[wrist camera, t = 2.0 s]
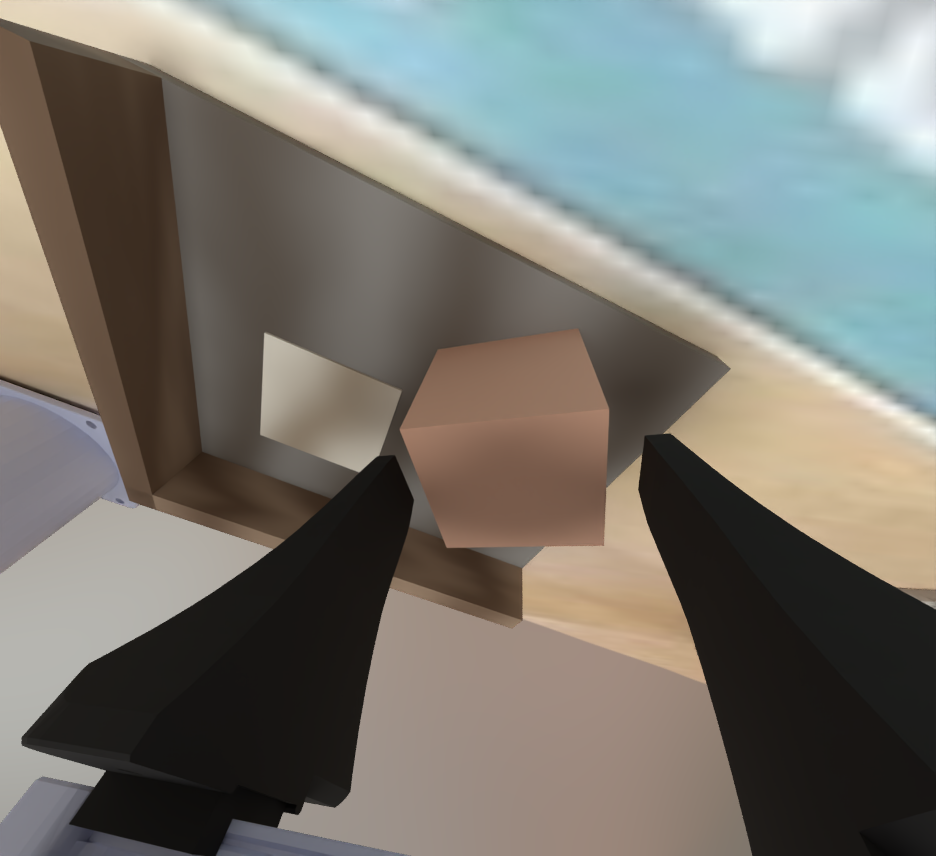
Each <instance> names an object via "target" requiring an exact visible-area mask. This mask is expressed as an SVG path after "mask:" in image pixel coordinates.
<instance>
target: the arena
mask: <svg viewBox="0 0 936 856" xmlns="http://www.w3.org/2000/svg"><path fill="white" fill-rule="evenodd" d="M0 126H1V128H2V131H3V134H4V137H5V140H6V143H7V146H8V149H9V152H10V155H11V158H12V161H13V163H14V166H15V169H16V172H17V175H18V178H19V181H20V184H21V187H22V190H23V193H24V195H25V198H26V201H27V204H28V207H29V210H30V213H31V216H32V219H33V222H34V225H35V227H36V230H37V233H38V236H39V239H40V242H41V245H42V248H43V251H44V254H45V257H46V259H47V262H48V265H49V268H50V271H51V274H52V277H53V280H54V283H55V286H56V289H57V291H58V294H59V297H60V300H61V303H62V306H63V309H64V312H65V315H66V318H67V321H68V324H69V326H70V329H71V332H72V335H73V338H74V341H75V344H76V347H77V350H78V353H79V356H80V358H81V361H82V364H83V367H84V370H85V373H86V376H87V379H88V382H89V385H90V388H91V390H92V393H93V396H94V399H95V402H96V405H97V408H98V411H99V414H100V417H101V420H102V422H103V425H104V428H105V431H106V434H107V437H108V440H109V443H110V446H111V449H112V452H113V454H114V457H115V460H116V463H117V466H118V469H119V472H120V475H121V478H122V481H123V484H124V487H125V489H126V492H127V495H128V498H129V501H131V502H134V503H137V504H140V505H143V506H146V507H149V508H152V509H155V510H158V511H161V512H164V513H167V514H170V515H173V516H176V517H179V518H182V519H185V520H188V521H191V522H194V523H197V524H200V525H203V526H206V527H209V528H212V529H215V530H218V531H221V532H224V533H227V534H230V535H233V536H236V537H239V538H242V539H245V540H248V541H251V542H254V543H257V544H260V545H263V546H266V547H269V548H272V549H274V548H276V547H277V546H278V545H280V544H281V543H282V542H283V541H285V540H286V539H287V538H288V537H290V536H291V535H292V534H293V533H294V532H296V531H297V530H298V529H299V528H300V527H301V526H302V525H303V524H305V523H306V522H307V521H308V520H309V519H310V518H311V517H312V516H314V515H315V514H316V513H317V512H318V511H319V510H320V509H322V508H323V507H324V506H325V505H326V504H327V503H328V502H329V501H330V500H331V499H332V498H333V497H334V496H335V495H336V494H338V493H339V492H340V491H341V490H342V489H343V488H344V487H345V486H346V485H347V484H348V483H349V482H350V481H351V480H352V479H353V478H354V477H355V476H356V475H357V474H358V473H359V472H360V471H362V470H363V469H364V468H365V467H366V466H367V465H368V464H369V463H370V462H371V461H372V460H374V459H375V458H376V457H377V456H387V455H395V456H396V459H397V461H398V463H399V465H400V468H401V470H402V472H403V475H404V477H405V479H406V482H407V484H408V486H409V489H410V491H411V493H412V496H413V498H414V503H413V509H412V515H411V520H410V525H409V530H408V533H407V536H406V539H405V542H404V546H403V549H402V552H401V555H400V558H399V561H398V564H397V567H396V570H395V573H394V576H393V579H392V582H391V585H390V588H392V589H395V590H398V591H401V592H404V593H407V594H410V595H413V596H416V597H419V598H422V599H425V600H428V601H431V602H434V603H437V604H440V605H443V606H446V607H449V608H452V609H455V610H458V611H461V612H464V613H467V614H470V615H473V616H476V617H479V618H482V619H485V620H488V621H491V622H494V623H497V624H500V625H503V626H506V627H509V628H513V627H515V626H516V625H517V624H518V623H520V622H521V621H522V568H523V567H524V566H525V565H526V564H527V563H528V562H529V561H530V560H531V559H532V558H533V557H534V556H536V555H537V554H538V553H539V552H540V551H541V550H542V549H543V548H544V547H545V546H539V547H472V548H447V547H446V545H445V542H444V540H443V537H442V535H441V532H440V530H439V527H438V525H437V522H436V520H435V517H434V515H433V512H432V510H431V507H430V505H429V502H428V500H427V497H426V495H425V492H424V490H423V487H422V485H421V482H420V480H419V477H418V475H417V472H416V470H415V467H414V465H413V462H412V460H411V457H410V455H409V452H408V449H407V447H406V444H405V442H404V439H403V437H402V434H401V432H400V427H401V425H402V423H403V421H404V419H405V417H406V415H407V413H408V411H409V409H410V407H411V405H412V402H413V400H414V398H415V396H416V394H417V392H418V390H419V388H420V386H421V384H422V382H423V380H424V377H425V375H426V373H427V371H428V369H429V367H430V365H431V363H432V361H433V359H434V357H435V354H436V352H437V350H438V349H444V348H451V347H458V346H464V345H471V344H477V343H484V342H491V341H497V340H504V339H511V338H517V337H524V336H531V335H537V334H544V333H550V332H557V331H564V330H570V329H577V328H578V329H579V332H580V334H581V337H582V340H583V342H584V345H585V347H586V350H587V352H588V355H589V358H590V360H591V363H592V365H593V368H594V371H595V373H596V376H597V378H598V381H599V383H600V386H601V389H602V391H603V394H604V396H605V399H606V402H607V404H608V407H609V429H608V454H607V479H606V488H607V487H608V486H609V485H610V484H611V483H612V482H613V481H614V480H615V479H616V478H617V477H618V476H619V475H620V474H621V473H622V472H623V471H624V470H625V469H626V468H628V467H629V466H630V465H631V464H632V463H633V462H634V461H635V460H636V459H637V458H638V457H639V456H640V455H641V454H642V453H643V446H644V437H645V435H657V434H663V433H664V432H665V431H666V430H667V429H668V428H669V427H670V426H671V425H672V424H674V423H675V422H676V421H677V420H678V419H679V418H680V417H681V416H682V415H683V414H684V413H685V412H686V411H687V410H688V409H689V408H690V407H691V406H692V405H693V404H694V403H695V402H697V401H698V400H699V399H700V398H701V397H702V396H703V395H704V394H705V393H706V392H707V391H708V390H709V389H710V388H711V387H712V386H713V385H714V384H715V383H716V382H717V381H718V380H719V379H721V378H722V377H723V376H724V375H725V374H726V373H727V372H728V371H729V370H730V368H729V367H728V366H727V365H726V364H725V363H724V362H722V361H721V360H720V359H719V358H718V357H717V356H715V355H713V354H711V353H709V352H707V351H705V350H703V349H701V348H699V347H697V346H695V345H694V344H692V343H690V342H688V341H686V340H684V339H682V338H680V337H678V336H676V335H674V334H672V333H670V332H668V331H666V330H664V329H662V328H660V327H659V326H657V325H655V324H653V323H651V322H649V321H647V320H645V319H643V318H641V317H639V316H637V315H635V314H633V313H631V312H629V311H627V310H625V309H623V308H622V307H620V306H618V305H616V304H614V303H612V302H610V301H608V300H606V299H604V298H602V297H600V296H598V295H596V294H594V293H592V292H590V291H588V290H587V289H585V288H583V287H581V286H579V285H577V284H575V283H573V282H571V281H569V280H567V279H565V278H563V277H561V276H559V275H557V274H555V273H553V272H552V271H550V270H548V269H546V268H544V267H542V266H540V265H538V264H536V263H534V262H532V261H530V260H528V259H526V258H524V257H522V256H520V255H518V254H517V253H515V252H513V251H511V250H509V249H507V248H505V247H503V246H501V245H499V244H497V243H495V242H493V241H491V240H489V239H487V238H485V237H483V236H481V235H480V234H478V233H476V232H474V231H472V230H470V229H468V228H466V227H464V226H462V225H460V224H458V223H456V222H454V221H452V220H450V219H448V218H446V217H445V216H443V215H441V214H439V213H437V212H435V211H433V210H431V209H429V208H427V207H425V206H423V205H421V204H419V203H417V202H415V201H413V200H411V199H410V198H408V197H406V196H404V195H402V194H400V193H398V192H396V191H394V190H392V189H390V188H388V187H386V186H384V185H382V184H380V183H378V182H376V181H375V180H373V179H371V178H369V177H367V176H365V175H363V174H361V173H359V172H357V171H355V170H353V169H351V168H349V167H347V166H345V165H343V164H341V163H339V162H338V161H336V160H334V159H332V158H330V157H328V156H326V155H324V154H322V153H320V152H318V151H316V150H314V149H312V148H310V147H308V146H306V145H304V144H303V143H301V142H299V141H297V140H295V139H293V138H291V137H289V136H287V135H285V134H283V133H281V132H279V131H277V130H275V129H273V128H271V127H269V126H268V125H266V124H264V123H262V122H260V121H258V120H256V119H254V118H252V117H250V116H248V115H246V114H244V113H242V112H240V111H238V110H236V109H234V108H233V107H231V106H229V105H227V104H225V103H223V102H221V101H219V100H217V99H215V98H213V97H211V96H209V95H207V94H205V93H203V92H201V91H199V90H197V89H196V88H194V87H192V86H190V85H188V84H186V83H184V82H182V81H180V80H178V79H176V78H174V77H172V76H170V75H168V74H166V73H164V72H162V71H161V70H159V69H157V68H155V67H153V66H151V65H149V64H147V63H143V62H140V61H137V60H134V59H130V58H127V57H124V56H121V55H117V54H114V53H111V52H108V51H104V50H101V49H98V48H95V47H91V46H88V45H85V44H82V43H78V42H75V41H72V40H69V39H65V38H62V37H59V36H56V35H52V34H49V33H46V32H43V31H39V30H36V29H33V28H30V27H26V26H23V25H20V24H17V23H13V22H10V21H7V20H4V19H0Z"/></svg>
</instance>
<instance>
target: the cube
mask: <svg viewBox="0 0 936 856" xmlns="http://www.w3.org/2000/svg"><path fill="white" fill-rule="evenodd" d="M608 429H609V407H608V404H607V402H606V399H605V396H604V394H603V391H602V389H601V386H600V383H599V381H598V378H597V376H596V373H595V371H594V368H593V365H592V363H591V360H590V358H589V355H588V352H587V350H586V347H585V345H584V342H583V340H582V337H581V334H580V332H579V329H578V328H577V329H570V330H564V331H557V332H550V333H544V334H537V335H531V336H524V337H517V338H511V339H504V340H497V341H491V342H484V343H477V344H471V345H464V346H458V347H451V348H444V349H438V350H437V352H436V354H435V357H434V359H433V361H432V363H431V365H430V367H429V369H428V371H427V373H426V375H425V377H424V380H423V382H422V384H421V386H420V388H419V390H418V392H417V394H416V396H415V398H414V400H413V402H412V405H411V407H410V409H409V411H408V413H407V415H406V417H405V419H404V421H403V423H402V425H401V427H400V432H401V434H402V437H403V439H404V442H405V444H406V447H407V449H408V452H409V455H410V457H411V460H412V462H413V465H414V467H415V470H416V472H417V475H418V477H419V480H420V482H421V485H422V487H423V490H424V492H425V495H426V497H427V500H428V502H429V505H430V507H431V510H432V512H433V515H434V517H435V520H436V522H437V525H438V527H439V530H440V532H441V535H442V537H443V540H444V542H445V545H446V547H447V548H472V547H539V546H604V528H605V503H606V479H607V454H608Z"/></svg>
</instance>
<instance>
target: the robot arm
mask: <svg viewBox="0 0 936 856" xmlns="http://www.w3.org/2000/svg"><path fill="white" fill-rule="evenodd" d="M638 490H639V494H640V498H641V501H642V505H643V509H644V512H645V516H646V520H647V523H648V526H649V528H650V531H651V533H652V536H653V538H654V540H655V543H656V545H657V548H658V550H659V553H660V555H661V557H662V560H663V562H664V565H665V567H666V569H667V572H668V574H669V576H670V579H671V581H672V584H673V586H674V588H675V591H676V593H677V596H678V598H679V600H680V603H681V605H682V608H683V611H684V613H685V616H686V619H687V621H688V624H689V627H690V630H691V634H692V637H693V640H694V643H695V647H696V650H697V653H698V656H699V660H700V663H701V666H702V669H703V673H704V676H705V680H706V683H707V686H708V690H709V693H710V697H711V700H712V703H713V707H714V710H715V713H716V717H717V721H718V724H719V728H720V731H721V735H722V739H723V743H724V746H725V750H726V753H727V757H728V761H729V765H730V768H731V772H732V775H733V780H734V784H735V788H736V792H737V796H738V799H739V803H740V807H741V811H742V815H743V819H744V823H745V826H746V831H747V835H748V839H749V843H750V847H751V851H752V856H936V609H934V608H932V607H931V606H929V605H927V604H925V603H923V602H921V601H920V600H918V599H916V598H914V597H912V596H910V595H909V594H907V593H905V592H903V591H901V590H899V589H898V588H896V587H894V586H892V585H890V584H888V583H887V582H885V581H883V580H881V579H879V578H878V577H876V576H874V575H872V574H871V573H869V572H867V571H865V570H864V569H862V568H860V567H858V566H857V565H855V564H853V563H851V562H850V561H848V560H847V559H845V558H843V557H842V556H840V555H838V554H837V553H835V552H833V551H832V550H830V549H829V548H827V547H825V546H824V545H822V544H820V543H819V542H817V541H815V540H814V539H812V538H810V537H809V536H807V535H806V534H804V533H803V532H801V531H800V530H798V529H796V528H795V527H793V526H792V525H790V524H789V523H787V522H786V521H785V520H783V519H782V518H780V517H779V516H777V515H776V514H774V513H773V512H771V511H770V510H768V509H767V508H766V507H764V506H763V505H761V504H760V503H758V502H757V501H756V500H754V499H753V498H751V497H750V496H749V495H747V494H746V493H745V492H743V491H742V490H741V489H739V488H738V487H737V486H735V485H734V484H733V483H731V482H730V481H729V480H727V479H726V478H725V477H723V476H722V475H721V474H720V473H718V472H717V471H716V470H715V469H713V468H712V467H711V466H710V465H708V464H707V463H706V462H705V461H703V460H702V459H701V458H700V457H698V456H697V455H696V454H695V453H694V452H692V451H691V450H690V449H689V448H687V447H686V446H685V445H684V444H683V443H681V442H680V441H679V440H678V439H676V438H675V437H674V436H673V435H671V434H657V435H645V437H644V446H643V454H642V463H641V471H640V480H639V488H638ZM99 498H102V499H105V500H108V501H111V502H114V503H117V504H120V505H123V506H126V507H129V508H136V507H137V506H138V505H139V504H137V503H134V502H131V501H129V498H128V495H127V492H126V489H125V487H124V484H123V481H122V478H121V475H120V472H119V469H118V466H117V463H116V460H115V457H114V454H113V452H112V449H111V446H110V443H109V440H108V437H107V434H106V431H105V428H104V425H103V422H102V420H101V417H100V416H99V415H97V414H94V413H91V412H88V411H86V410H83V409H80V408H77V407H75V406H72V405H69V404H66V403H64V402H61V401H58V400H55V399H53V398H50V397H47V396H44V395H42V394H39V393H36V392H33V391H31V390H28V389H25V388H22V387H20V386H17V385H14V384H11V383H9V382H6V381H3V380H0V574H1V573H2V572H4V571H5V570H6V569H8V568H9V567H10V566H12V565H13V564H14V563H15V562H17V561H18V560H19V559H21V558H22V557H23V556H25V555H26V554H27V553H28V552H30V551H31V550H33V549H34V548H35V547H36V546H38V545H39V544H40V543H41V542H43V541H44V540H46V539H47V538H48V537H50V536H51V535H52V534H53V533H55V532H56V531H57V530H59V529H60V528H61V527H63V526H64V525H65V524H66V523H68V522H69V521H70V520H72V519H73V518H74V517H76V516H77V515H78V514H79V513H81V512H82V511H84V510H85V509H86V508H88V507H89V506H90V505H92V504H93V503H94V502H96V501H97V500H98V499H99ZM413 503H414V498H413V496H412V493H411V491H410V489H409V486H408V484H407V482H406V479H405V477H404V475H403V472H402V470H401V468H400V465H399V463H398V461H397V459H396V456H395V455H387V456H377V457H376V458H375V459H374V460H372V461H371V462H370V463H369V464H368V465H367V466H366V467H365V468H364V469H363V470H362V471H360V472H359V473H358V474H357V475H356V476H355V477H354V478H353V479H352V480H351V481H350V482H349V483H348V484H347V485H346V486H345V487H344V488H343V489H342V490H341V491H340V492H339V493H338V494H336V495H335V496H334V497H333V498H332V499H331V500H330V501H329V502H328V503H327V504H326V505H325V506H324V507H323V508H322V509H320V510H319V511H318V512H317V513H316V514H315V515H314V516H312V517H311V518H310V519H309V520H308V521H307V522H306V523H305V524H303V525H302V526H301V527H300V528H299V529H298V530H297V531H296V532H294V533H293V534H292V535H291V536H290V537H288V538H287V539H286V540H285V541H283V542H282V543H281V544H280V545H278V546H277V547H276V548H274V549H273V550H272V551H271V552H269V553H268V554H267V555H266V556H264V557H263V558H261V559H260V560H259V561H258V562H256V563H255V564H253V565H252V566H251V567H249V568H248V569H246V570H245V571H243V572H242V573H241V574H239V575H237V576H236V577H235V578H233V579H232V580H230V581H229V582H227V583H226V584H224V585H223V586H222V587H220V588H219V589H217V590H216V591H214V592H213V593H211V594H210V595H208V596H206V597H205V598H203V599H202V600H200V601H198V602H197V603H195V604H194V605H193V606H191V607H189V608H187V609H186V610H184V611H182V612H181V613H179V614H177V615H176V616H174V617H172V618H171V619H169V620H167V621H166V622H164V623H162V624H160V625H159V626H157V627H155V628H154V629H152V630H150V631H148V632H146V633H145V634H143V635H141V636H139V637H137V638H135V639H134V640H132V641H130V642H128V643H126V644H125V645H123V646H121V647H119V648H117V649H115V650H114V651H112V652H110V653H108V654H106V655H104V656H103V657H101V658H99V659H97V660H95V661H93V662H91V663H89V664H88V665H87V666H86V667H85V668H84V669H83V670H82V671H81V672H80V673H79V674H78V675H77V676H76V677H75V678H74V679H73V681H72V682H71V683H70V684H69V685H68V686H67V687H66V689H65V690H64V691H63V692H62V693H61V694H60V695H59V696H58V697H57V699H56V700H55V701H54V702H53V703H52V704H51V705H50V707H48V709H47V710H46V711H45V712H44V713H43V714H42V715H41V716H40V717H39V719H38V720H37V721H36V722H35V723H34V724H33V725H32V726H31V728H30V729H29V730H28V731H27V732H26V733H25V734H24V735H23V736H22V746H25V747H28V748H30V749H33V750H36V751H39V752H43V753H46V754H49V755H53V756H56V757H60V758H63V759H67V760H71V761H74V762H78V763H81V764H85V765H88V766H92V767H96V768H100V769H103V770H106V772H105V773H104V775H103V776H102V778H101V779H100V781H99V782H98V783H97V785H96V786H95V787H91V786H86V785H82V784H77V783H72V782H67V781H63V780H57V779H53V778H48V777H41V778H39V779H37V780H36V781H35V782H34V783H33V784H32V785H31V786H30V788H29V789H28V790H27V792H26V793H25V794H24V795H23V796H22V798H21V799H20V800H19V801H18V803H17V804H16V805H15V806H14V808H13V809H12V810H11V811H10V812H9V814H8V815H7V816H6V817H5V819H4V820H3V821H2V822H1V824H0V856H409V855H404V854H399V853H394V852H389V851H384V850H380V849H375V848H370V847H365V846H361V845H356V844H351V843H346V842H342V841H336V840H332V839H327V838H322V837H317V836H313V835H308V834H303V833H298V832H293V831H289V830H284V829H279V828H277V827H278V824H279V822H280V819H281V816H282V814H283V812H286V813H291V814H296V815H298V814H299V813H300V812H301V810H302V807H303V804H304V802H307V803H312V804H319V805H323V806H329V807H334V808H335V807H336V806H338V805H339V804H340V803H341V802H342V801H343V800H344V799H345V798H346V797H347V796H348V794H349V793H350V790H351V781H352V773H353V766H354V759H355V752H356V745H357V738H358V731H359V725H360V719H361V713H362V708H363V702H364V696H365V690H366V684H367V679H368V674H369V670H370V665H371V660H372V655H373V650H374V645H375V641H376V636H377V632H378V627H379V623H380V619H381V614H382V611H383V607H384V604H385V600H386V597H387V594H388V591H389V588H390V585H391V582H392V579H393V576H394V573H395V570H396V567H397V564H398V561H399V558H400V555H401V552H402V549H403V546H404V542H405V539H406V536H407V533H408V530H409V525H410V520H411V515H412V509H413Z"/></svg>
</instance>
